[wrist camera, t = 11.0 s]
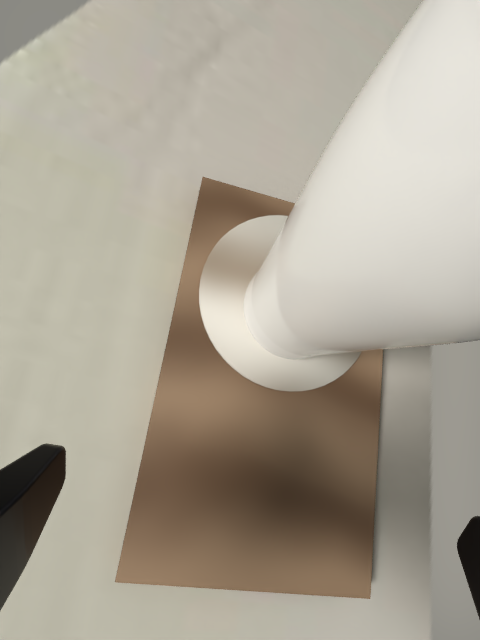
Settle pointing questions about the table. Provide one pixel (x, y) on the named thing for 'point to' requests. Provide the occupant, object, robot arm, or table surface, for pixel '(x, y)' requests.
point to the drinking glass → (387, 208)
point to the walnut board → (252, 435)
